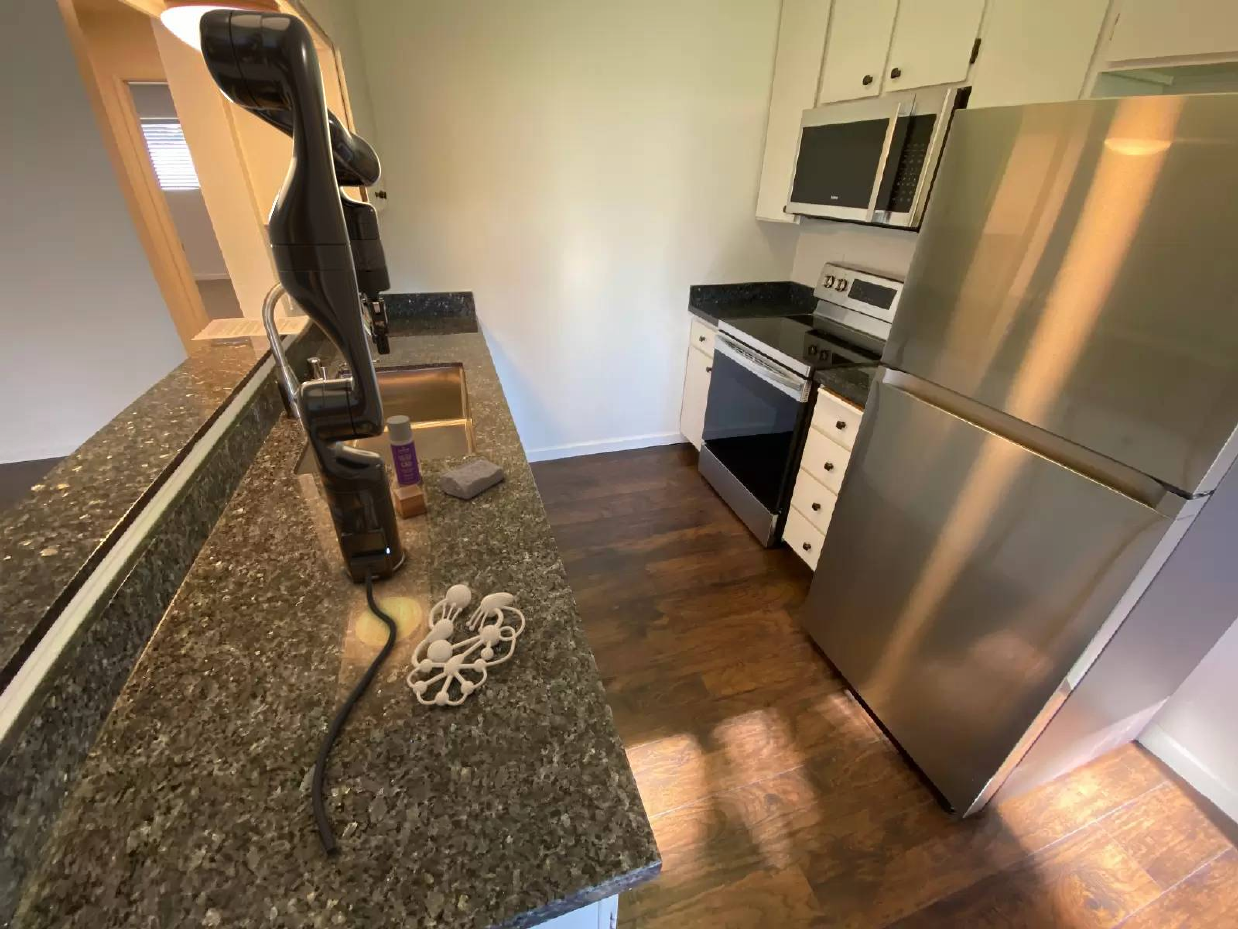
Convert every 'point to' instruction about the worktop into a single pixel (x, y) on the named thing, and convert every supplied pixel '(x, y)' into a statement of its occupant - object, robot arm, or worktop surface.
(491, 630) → the tangled rod sculpture
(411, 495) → the oak cube
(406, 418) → the container
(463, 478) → the stone block
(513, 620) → the worktop surface
